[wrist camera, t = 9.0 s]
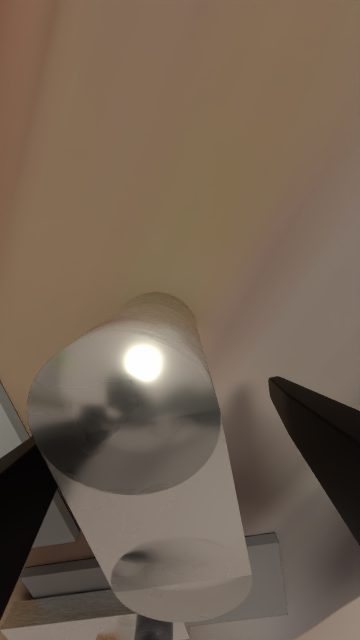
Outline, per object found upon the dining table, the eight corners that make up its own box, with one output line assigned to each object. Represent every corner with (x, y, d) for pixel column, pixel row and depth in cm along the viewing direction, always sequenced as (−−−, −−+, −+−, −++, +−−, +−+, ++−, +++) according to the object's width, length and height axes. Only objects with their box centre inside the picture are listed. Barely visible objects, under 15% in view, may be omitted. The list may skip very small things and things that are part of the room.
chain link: (188, 284, 9) (201, 315, 3) (220, 442, 12) (259, 614, 6) (107, 301, 9) (-9, 359, 4) (155, 453, 12) (133, 628, 6)
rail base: (275, 532, 14) (312, 635, 10) (285, 606, 16) (317, 711, 12) (24, 568, 15) (-30, 673, 11) (69, 632, 17) (37, 736, 14)
